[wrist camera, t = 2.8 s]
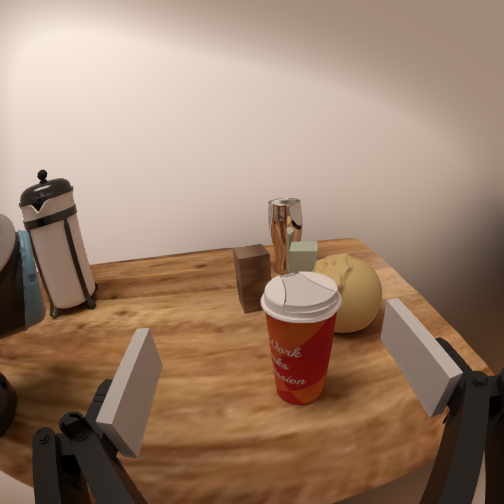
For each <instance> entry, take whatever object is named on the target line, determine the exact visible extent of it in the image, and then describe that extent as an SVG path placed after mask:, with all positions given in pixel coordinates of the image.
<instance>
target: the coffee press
mask: <svg viewBox="0 0 504 504" xmlns="http://www.w3.org/2000/svg"><path fill="white" fill-rule="evenodd" d="M37 177H38V178H39V179H40V180H41V181H40V182H39V184H36V185H34V186H31V187H29V188H27V189H26V190H25V191H24V192H23V193H22V195H21V198H20V203H19V207H20V208H21V209H22V213H23V218H24V221H23V222H24V226H25V229H26V230H27V232H28V233H29V236H30V240H31V246H32V251H33V256H34V259H35V262H36V265H37V268H38V272H39V275H40V278H41V280H42V283H43V286H44V289H45V291H46V294H47V297H48V299H49V302H50V316H51V317H53V318H57V317H58V314H59V310H60V309H63V308H70V307H74V306H77V305H79V304H81V303H84V304H85V305H86V306H87V307H88V308H89V309H92V308H94V307H95V306H96V304H95V302H94V300H93V299H92V298H91V296H92V294H93V293H94V290H97V288H98V286H97V284H96V283H94V280H93V276H92V273H91V270H90V266H89V263H88V259H87V256H86V252H85V248H84V244H83V241H82V236H81V232H80V228H79V224H78V219H77V215H76V213H77V210H76V205H75V204H74V200H73V186H71V185H70V183H69V181H68V180H66V179H63V178H58V179H53V180H49V181H47V180H45V179H46V177H47V172H46V171H45V170H40V171H39V172H38V176H37ZM54 307H56V308H57V309H56V311H55V315H54V316H53V310H54Z"/></svg>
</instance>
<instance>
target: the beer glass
mask: <svg viewBox="0 0 504 504" xmlns="http://www.w3.org/2000/svg"><path fill="white" fill-rule="evenodd" d="M268 203H269V229H270V234H271V238H272V242H273V246H274V250H275V263H274V270H275V271H276V272H277V273H280V274H290V253H289V251H290V246H291V242H301V235H302V211H301V203H300V200H299V199H294V198H282V199H274V200H271V201H269V202H268Z"/></svg>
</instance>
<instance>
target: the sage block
mask: <svg viewBox="0 0 504 504" xmlns="http://www.w3.org/2000/svg"><path fill="white" fill-rule="evenodd" d="M289 253H290V274H291V273H295V274H298V273H299V272H311V271H313V269H314V267H315V263H316V261H317V241H312V242H291V246H290V251H289Z"/></svg>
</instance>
